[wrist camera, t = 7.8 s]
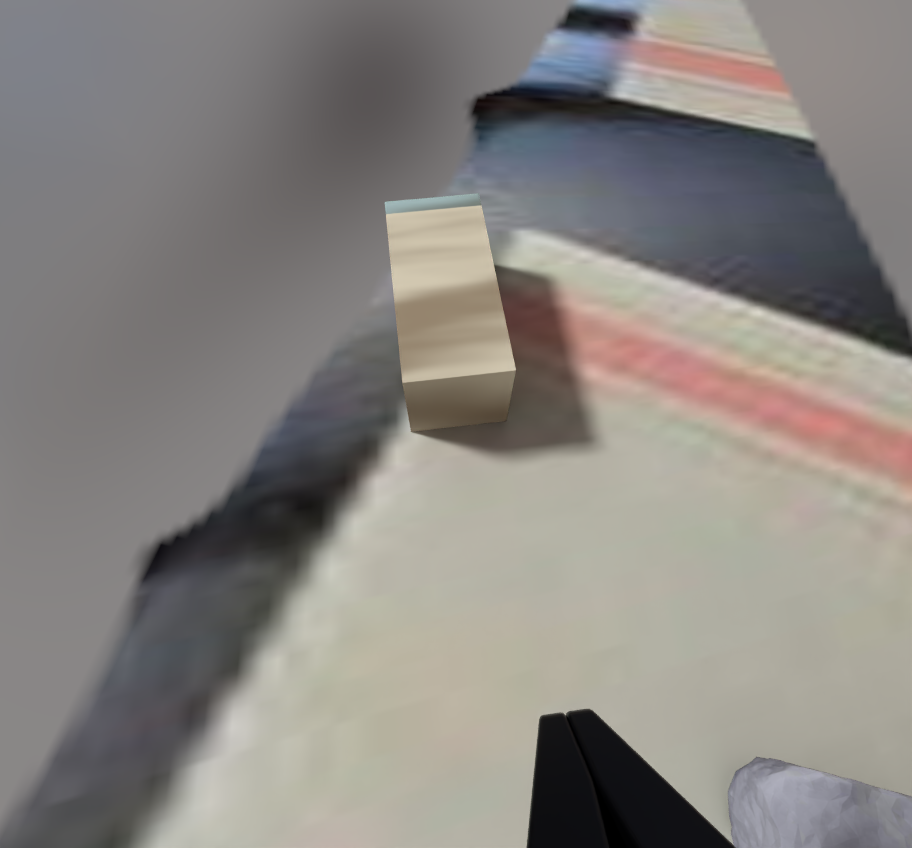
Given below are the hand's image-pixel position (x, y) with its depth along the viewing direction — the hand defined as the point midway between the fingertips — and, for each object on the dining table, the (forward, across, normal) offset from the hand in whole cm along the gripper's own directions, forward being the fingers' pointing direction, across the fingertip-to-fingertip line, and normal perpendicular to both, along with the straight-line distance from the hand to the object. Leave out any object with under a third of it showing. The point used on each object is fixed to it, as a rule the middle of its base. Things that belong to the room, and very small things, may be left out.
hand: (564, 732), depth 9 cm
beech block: (+16, 0, -2) cm, 16 cm away
